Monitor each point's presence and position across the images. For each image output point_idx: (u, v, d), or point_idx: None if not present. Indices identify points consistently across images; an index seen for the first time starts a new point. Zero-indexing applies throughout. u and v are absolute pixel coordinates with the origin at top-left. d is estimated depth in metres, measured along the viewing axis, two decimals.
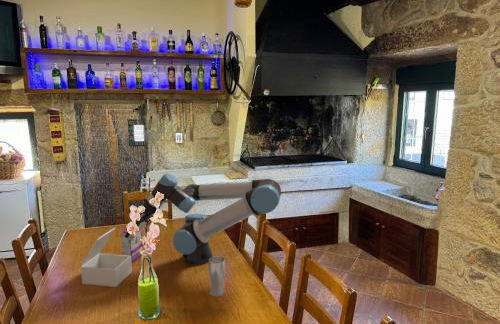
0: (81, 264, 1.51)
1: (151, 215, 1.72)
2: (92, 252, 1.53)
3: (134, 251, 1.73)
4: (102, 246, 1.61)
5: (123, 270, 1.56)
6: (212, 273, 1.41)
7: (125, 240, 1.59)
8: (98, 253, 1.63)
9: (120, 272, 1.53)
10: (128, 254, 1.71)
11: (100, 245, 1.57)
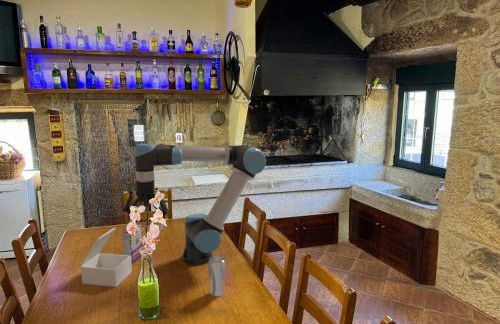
0: (81, 264, 1.51)
1: None
2: (92, 252, 1.53)
3: (134, 251, 1.73)
4: (102, 246, 1.61)
5: (123, 270, 1.56)
6: (212, 273, 1.41)
7: (162, 226, 1.50)
8: (98, 253, 1.63)
9: (120, 272, 1.53)
10: (128, 254, 1.71)
11: (100, 245, 1.57)
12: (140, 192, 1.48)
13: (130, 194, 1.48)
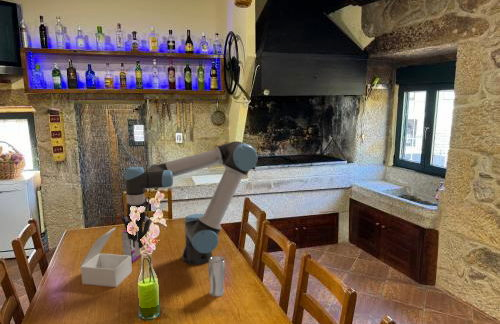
0: (81, 264, 1.51)
1: None
2: (92, 252, 1.53)
3: (134, 251, 1.73)
4: (102, 246, 1.61)
5: (123, 270, 1.56)
6: (212, 273, 1.41)
7: None
8: (98, 253, 1.63)
9: (120, 272, 1.53)
10: (128, 254, 1.71)
11: (100, 245, 1.57)
12: (129, 213, 1.49)
13: (124, 221, 1.50)
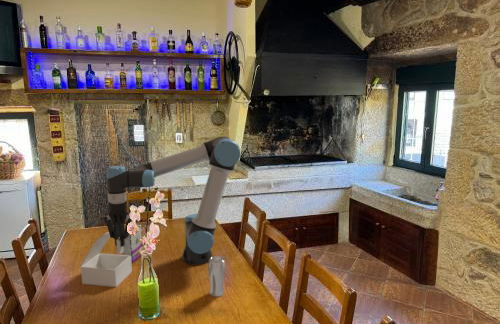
0: (81, 264, 1.51)
1: None
2: (92, 252, 1.53)
3: (134, 251, 1.73)
4: (102, 246, 1.61)
5: (123, 270, 1.56)
6: (212, 273, 1.41)
7: (122, 249, 1.55)
8: (98, 253, 1.63)
9: (120, 272, 1.53)
10: (128, 254, 1.71)
11: (100, 245, 1.57)
12: (111, 212, 1.51)
13: (105, 219, 1.52)
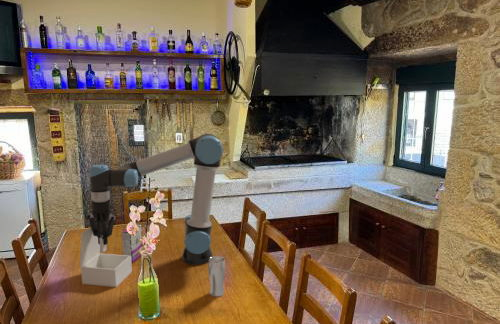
0: (80, 264, 1.51)
1: None
2: (86, 249, 1.53)
3: (134, 251, 1.73)
4: (97, 244, 1.62)
5: (123, 270, 1.56)
6: (212, 273, 1.41)
7: (105, 247, 1.56)
8: (98, 253, 1.63)
9: (120, 272, 1.53)
10: (128, 254, 1.71)
11: (93, 242, 1.57)
12: None
13: (89, 218, 1.53)
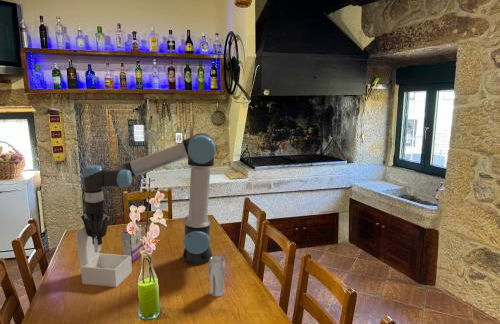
0: (80, 264, 1.51)
1: None
2: (83, 249, 1.53)
3: (134, 251, 1.73)
4: None
5: (123, 270, 1.56)
6: (212, 273, 1.41)
7: (100, 247, 1.57)
8: (98, 253, 1.63)
9: (120, 272, 1.53)
10: (128, 254, 1.71)
11: (90, 241, 1.58)
12: (88, 210, 1.52)
13: (83, 218, 1.53)
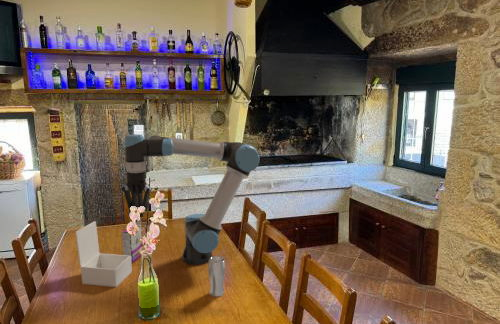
0: (80, 264, 1.51)
1: None
2: (83, 249, 1.53)
3: (134, 251, 1.73)
4: (95, 244, 1.62)
5: (123, 270, 1.56)
6: (212, 273, 1.41)
7: (140, 221, 1.51)
8: (98, 253, 1.63)
9: (120, 272, 1.53)
10: (128, 254, 1.71)
11: (90, 241, 1.58)
12: (129, 181, 1.47)
13: (123, 190, 1.48)
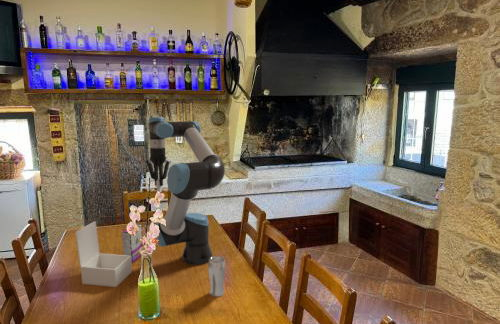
0: (80, 264, 1.51)
1: None
2: (83, 249, 1.53)
3: (134, 251, 1.73)
4: (95, 244, 1.62)
5: (123, 270, 1.56)
6: (212, 273, 1.41)
7: (161, 189, 1.82)
8: (98, 253, 1.63)
9: (120, 272, 1.53)
10: (128, 254, 1.71)
11: (90, 241, 1.58)
12: (152, 156, 1.78)
13: (147, 163, 1.79)
